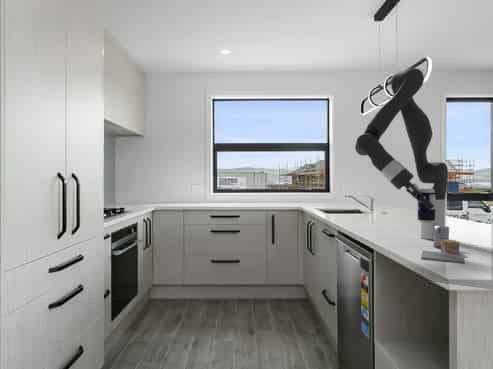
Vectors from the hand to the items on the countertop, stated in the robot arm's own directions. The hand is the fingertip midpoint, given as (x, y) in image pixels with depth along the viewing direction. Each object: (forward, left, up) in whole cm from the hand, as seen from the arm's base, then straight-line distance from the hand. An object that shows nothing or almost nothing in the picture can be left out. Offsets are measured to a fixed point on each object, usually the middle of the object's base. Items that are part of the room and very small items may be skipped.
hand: (431, 207), depth 128 cm
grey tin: (-9, +3, -16) cm, 19 cm away
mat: (+10, +3, -16) cm, 19 cm away
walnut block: (+1, +6, -16) cm, 17 cm away
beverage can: (0, -2, -6) cm, 6 cm away
